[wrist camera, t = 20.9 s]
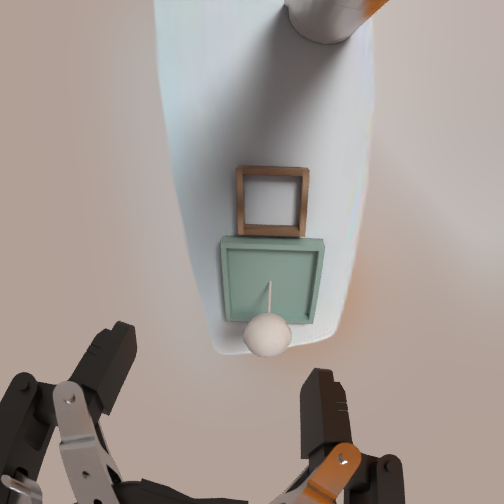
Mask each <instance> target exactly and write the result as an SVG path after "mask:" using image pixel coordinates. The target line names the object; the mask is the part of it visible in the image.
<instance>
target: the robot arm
mask: <svg viewBox="0 0 504 504" xmlns="http://www.w3.org/2000/svg"><path fill="white" fill-rule="evenodd" d="M388 1H389V0H284V5H285V6H286V7H287V8H288V11H289V19H290V22H291V24H292V25H293V27H294V28H295V29H296V30H297V32H298V33H300V34H301V35H302V36H304V37H306V38H307V39H309V40H312V41H314V42H317V43H323V44H334V43H339V42H342V41H344V40H345V39H347V38H349V37H350V36H351V35H352V34H353V33H354V32H355V31H356V30H357V29H358V28H359V27H360V26H361V25H362V24H363V23H364V22H365V21H366V20H368V19H369V18H370V17H371V16H372V15H373V14H374V13H375V12H376V11H377V10H378V9H380V8H381V7H382V6H383V5H384V4H385V3H387V2H388ZM136 353H137V342H136V334H135V327H134V326H133V325H129V324H127V323H124V322H121V321H118V322H117V323H116V324H115V325H114V327H113V329H112V330H108V329H104V330H103V331H101V332H100V333H98V334H97V335H96V337H95V338H94V340H93V341H92V343H91V345H90V346H89V347H88V349H87V352H86V353H85V354H84V355H83V357H82V359H81V361H80V362H79V364H78V365H77V367H76V369H75V370H74V372H73V374H72V376H71V377H70V378H69V380H67V381H64V382H61V383H59V384H58V385H53V384H47V383H42V382H37V381H36V380H35V378H34V377H33V376H32V375H31V374H29V373H26V372H22V373H19V374H17V375H16V376H15V377H14V378H13V380H12V382H11V383H10V385H9V387H8V389H7V391H6V392H5V395H4V397H3V398H2V400H1V402H0V504H42V491H41V489H40V487H39V485H38V484H37V483H36V481H37V477H38V474H39V471H40V468H41V465H42V462H43V459H44V456H45V453H46V450H47V447H48V445H49V442H50V439H51V436H52V434H53V431H54V429H55V426H58V427H59V431H60V436H61V443H60V444H59V448H60V453H61V456H62V459H63V463H64V466H65V470H66V473H67V475H68V478H69V482H70V484H71V487H72V490H73V492H74V495H75V497H76V500H77V503H74V504H248V501H242V500H233V499H227V498H210V499H194V498H190V497H189V496H186V495H184V494H182V493H180V492H178V491H176V490H174V489H172V488H170V487H168V486H165V485H161V484H158V483H154V482H151V481H148V480H145V479H142V480H141V481H126V482H124V481H123V479H122V477H121V475H120V472H119V470H118V468H117V466H116V464H115V462H114V460H113V458H112V456H111V454H110V451H109V449H108V446H107V443H106V440H105V438H104V434H103V431H102V428H101V426H100V422H99V418H100V416H101V414H102V413H104V414H106V415H108V416H109V415H110V412H111V410H112V408H113V405H114V403H115V401H116V399H117V396H118V394H119V392H120V389H121V387H122V385H123V383H124V381H125V379H126V377H127V374H128V372H129V370H130V368H131V366H132V364H133V362H134V359H135V357H136ZM346 402H347V400H346V394H345V391H344V389H343V387H342V385H341V384H340V382H334V378H333V372H332V370H329V369H320V368H314V369H313V371H312V372H311V374H310V375H309V377H308V378H307V380H306V381H305V383H304V384H303V386H302V388H301V392H300V418H301V419H300V421H301V459H309V465H308V466H307V467H306V468H305V469H304V470H303V471H302V473H301V474H300V475H299V476H298V477H297V478H296V479H295V480H294V482H293V483H292V484H291V485H290V486H289V487H288V488H287V489H286V490H285V491H284V492H283V493H282V494H281V495H279V496H278V497H276V498H275V499H274V500H273V501H272V502H271V503H269V504H336V501H335V500H336V498H337V497H338V495H339V494H340V492H341V491H342V490H343V489H344V504H405V494H404V493H405V492H404V479H403V469H402V463H401V461H400V459H399V458H398V457H397V456H395V455H391V454H387V455H384V456H383V457H381V458H378V457H374V456H370V455H366V454H363V453H361V452H360V451H359V449H358V448H357V447H356V446H354V445H353V442H352V437H351V429H350V421H349V415H348V412H347V411H348V407H347V404H346Z"/></svg>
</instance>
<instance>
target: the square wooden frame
mask: <svg viewBox="0 0 504 504" xmlns="http://www.w3.org/2000/svg"><path fill="white" fill-rule="evenodd" d="M244 175H289V176H302V178H301V198H300V214H299V226H289V225H257V224H245V206H244ZM236 184H237V220H238V235H270V236H299V237H305V230H306V217H307V203H308V188H309V169H308V168H303V167H279V166H238V167H237V168H236Z"/></svg>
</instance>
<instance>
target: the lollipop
mask: <svg viewBox="0 0 504 504" xmlns="http://www.w3.org/2000/svg"><path fill="white" fill-rule="evenodd" d="M271 286H272V281H269V288H268V306H267V313H262V314H259V315H257V316H255V317H254V318H252V319H251V320H250V321H249V323H248V324H247V326H246V327H245V329H244V332H243V339H244V342H245V344H246V345H247V347H248V348H249V350H250V351H251V352H252V353H254V354H255V355H257V356H259V357H264V358H271V357H275V356H278V355H279V354H281V353H282V352H283V351H284V350H285V349H286V348H287V346H288V345H289V344H290V342H291V337H292V333H291V330H290V328H289V326H288V324H287V322H286V321H285V320H284V319H283V318H282V317H280V316H279V315H276V314H273V313H270V310H271Z"/></svg>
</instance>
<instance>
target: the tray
mask: <svg viewBox="0 0 504 504" xmlns="http://www.w3.org/2000/svg"><path fill="white" fill-rule="evenodd" d="M220 247H221V262H222V275H223V288H224V300H225V312H226V321H240V322H249V321H250V320H251V319H252V318H254V317H255V316H257V315H259V314H262V313H267V306H268V288H269V281H272V286H271V310H270V313H273V314H276V315H279V316H280V317H282V318H283V319H284V320H285V321H286V322H287V323H288V324H313V321H314V315H315V310H316V304H317V298H318V292H319V286H320V279H321V273H322V266H323V259H324V251H325V245H324V242H323V239H311V238H283V237H250V236H223V238H222V240H221V242H220Z"/></svg>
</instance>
